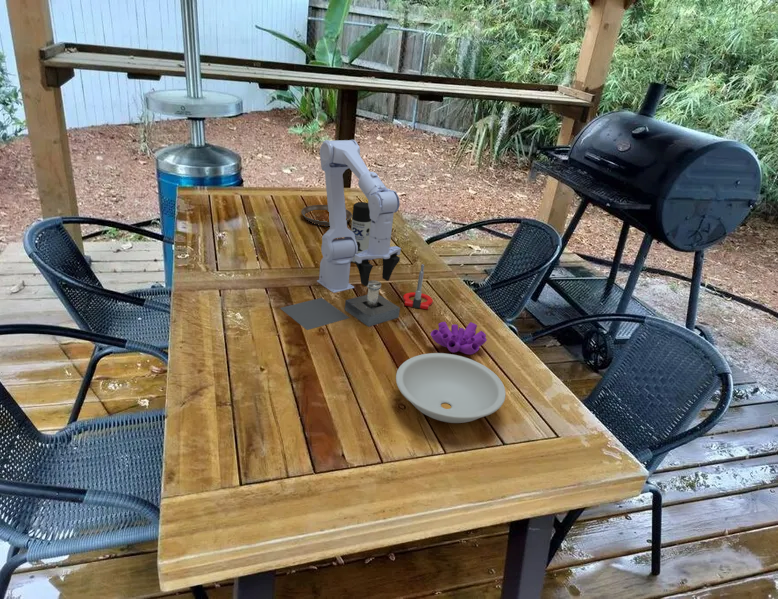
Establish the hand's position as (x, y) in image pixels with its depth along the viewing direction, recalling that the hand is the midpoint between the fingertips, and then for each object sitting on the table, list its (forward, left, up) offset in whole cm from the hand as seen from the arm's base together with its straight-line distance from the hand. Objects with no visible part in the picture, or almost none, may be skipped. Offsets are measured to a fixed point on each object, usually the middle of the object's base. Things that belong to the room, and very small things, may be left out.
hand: (375, 282), depth 155 cm
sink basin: (+42, -12, -11) cm, 45 cm away
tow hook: (0, +18, -11) cm, 21 cm away
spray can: (-34, +21, -11) cm, 41 cm away
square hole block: (0, 0, -10) cm, 10 cm away
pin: (0, 0, -10) cm, 10 cm away
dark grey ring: (-74, +35, -11) cm, 83 cm away
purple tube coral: (+26, +8, -11) cm, 29 cm away
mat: (-8, -14, -10) cm, 19 cm away
